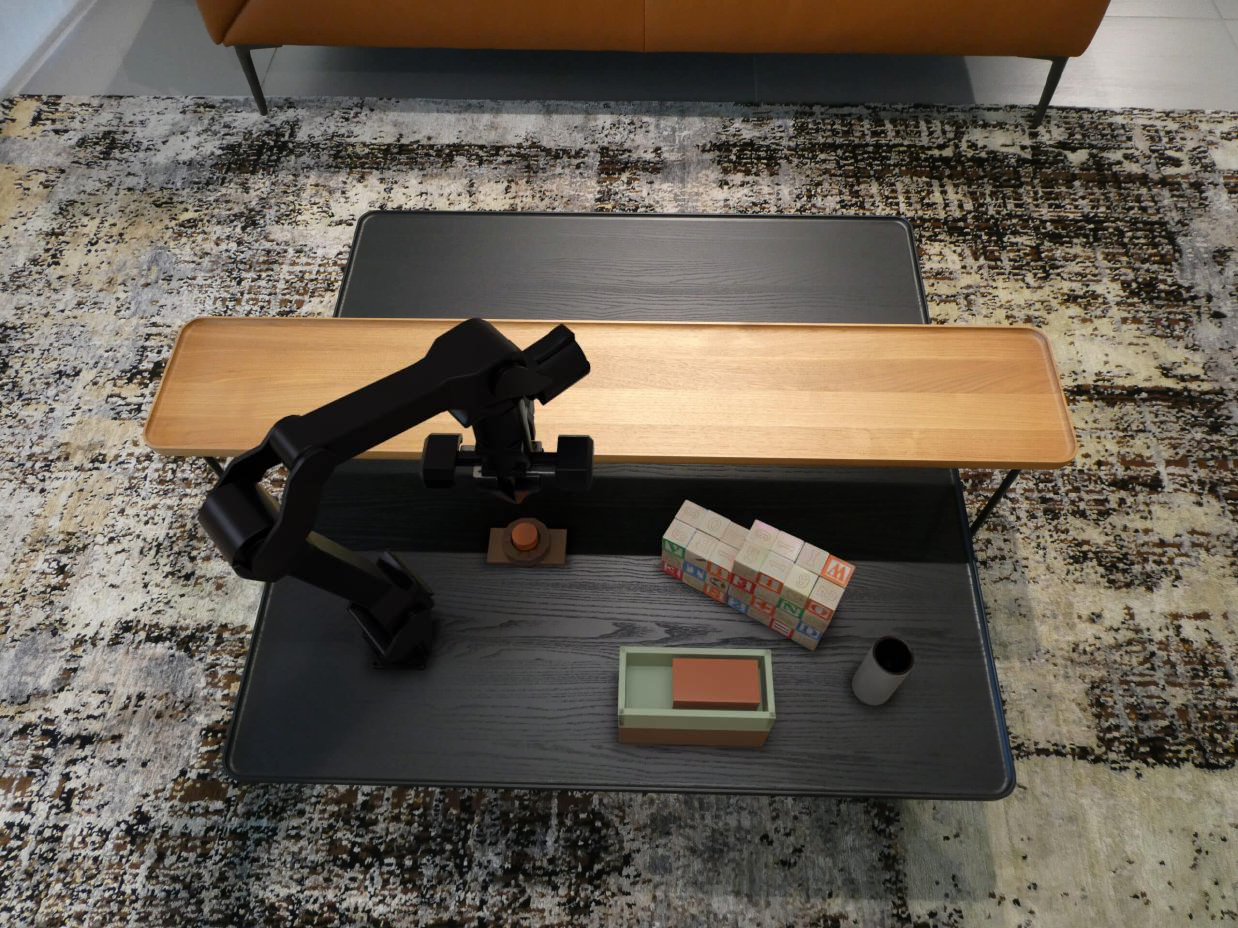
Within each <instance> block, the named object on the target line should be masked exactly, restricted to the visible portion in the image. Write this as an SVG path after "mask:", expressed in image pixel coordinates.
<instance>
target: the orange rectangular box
mask: <svg viewBox="0 0 1238 928" xmlns="http://www.w3.org/2000/svg"><path fill="white" fill-rule="evenodd" d="M759 704H760V689H759V673H758V660H737V659H692V658H673V660H672V669H671V709H679V710H720V711H757V709H758V707H759Z"/></svg>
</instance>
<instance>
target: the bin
mask: <svg viewBox="0 0 1238 928" xmlns="http://www.w3.org/2000/svg"><path fill="white" fill-rule="evenodd" d="M673 658H692V659H737V660H758V673H759V689H760V704H759V707H758V709H757V711H720V710H679V709H671V669H672V660H673ZM772 664H773V663H772V650H771V649H757V648H755V649H754V648H715V647H713V648H712V647H711V648H710V647H709V648H708V647H668V646H666V647H665V646H662V647H661V646H625V645H624V646H622V645H621V646H619V662H618V695H617V697H618V698H617V723H618V724H617V725H618V726H617V727H618V742H619V744H647V745H648V744H649V745H682V746H683V745H687V746H689V745H690V746H722V747H723V746H726V747H763V746H764V744H765V742H766V741H767V737H768V736H769V734H770V732H771V729H772V727H773V725H774V722H775V720H776V718H777V717H776V707H775V705H776V704H775V691H774V678H773V666H772Z"/></svg>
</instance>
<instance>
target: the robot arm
mask: <svg viewBox="0 0 1238 928" xmlns="http://www.w3.org/2000/svg"><path fill="white" fill-rule="evenodd" d="M591 368H592V366H591V362H590V361H589V360H588V358H587V356H586V354H585V352H584V350H583V348H582V347H581V345H580V344H579V343H578V342H577V340H576V333H575V332H574V331H572V330H571V329H570V328H569V327H567V326H566V325H565V324H564V323H559V324H558V325H556V326H555V327H554V328H552V329H551V330H550V331H549V332H548V333H547V334H546V335H544V336H542V337H540V338H539V339H537V340H536V341H535V342H533V343H532V344H530V345H529V346H527V347H526V348H524V349H521V348H520V347H519V346H517V345H516V344H515V343H514V342H513V341H512V340H511V339H508V337H507V336H505V335H504V334H503V333H502V332H501V331H500V330H498V328H496V327H495V326H494V325H493V324H491V322H489V321H487V320H486V319H483V318H481V317H471V318H468V319H466V320H463V321H462V322H460V323H458V324H456V325H455V326H454V327H452V328H450V329H449V330H447V331H445V332H443V333H442V334H441V335H438V336H437V337H436V338H435V339H434V340H433V342H432V344H431V345H430V347H429V349H428V350H427V351H426V354H425V355H424V357H422V358H420V359H419V360H417V361H416V362H414V363H412V364H410V365H408V366H406V367H403V368H401V369H400V370H397V371H395V372H393V373H391V374H388V375H386V376H384V377H382V378H380V379H378V380H375V381H374V382H371V383H369V384H367V385H365V386H363V387H360V388H359V389H356V390H353V391H352V392H350V393H348V394H345V395H343V396H341V397H339V398H337V399H335V400H332V401H330V402H328V403H326V404H324V405H321V406H320V407H317V408H315V409H313V410H310V411H309V412H306V413H304V414H302V415H301V414H290V415H286V416H283V417H281V418H280V419H279V420H277V421H275V423H274V424H273V425H272V426H271V427H270V428H269V430H268V432H267V433H266V435H265V436H264V438H263V439H262V441H261V442H260V443H259V444H258V445H256V446H255V447H252V448H251V449H248V450H247V451H245V452H244V453H241V454H240V455H238V456H236V457H234V458H232V459H231V460H230V461H229V463H228V464H227V465H226V467H225V469H224V470H223V472H222V473H221V474H220V476H219V477H218V479H217V480H216V482H215V483H214V485H213V487H212V488H211V490H210V491H209V493H207V496H206V499H205V500H204V501H203V502H202V504H201V506H200V508H199V511H198V516H197V519H196V520H197V522H198V523H199V525H200V526H201V528H202V529H203V531H204V532H205V534H206V535H207V536H208V538H209V539H210V540H211V542H212V543H213V545H214V546H215V547H216V548H217V550H218V551H219V552H220V554H221V555H222V557H223V558H224V560H225V561H226V562H227V564H228V565H229V566H230V568H231V570H232V571H233V572H234V573H235V574H236V576H238V577H239V578H241V579H244V580H247V581H253V582H261V583H269V584H275V583H277V582H278V581H280V580H282V579H283V578H286V577H291V578H294V579H296V580H298V581H301V582H303V583H305V584H308V585H310V586H313V587H315V588H317V589H320V590H322V591H325V592H328V593H329V594H332V595H334V596H336V597H339V598H342V599H345V600H346V601H348V602H347V605H346V606H345V609H346V611H347V613H348V614H349V615H350V616H351V618H352V619H353V620H354V621H355V622H356V624H357V625H358V627H360V629H361V630H362V632H361V637H362V638H363V640H364V641H365V642H366V644H367V645H368V647H369V648H370V649H371V651H372V652H373V653H372V657H371V665H370V666H371V667H372V668H373V669H375V670H409V671H410V670H413V671H417V670H418V671H422V670H425V669H426V668H427V662H428V656H429V654H430V653H431V652H432V648H433V647H432V646H433V641H434V635H435V633H434V630H433V625H434V621H433V619H432V612H431V611H432V609H433V608H435V606H436V602H435V600H434V599H433V596H434V595H435V594H436V593H435V592H434V591H433V590H432V588H430V586H429V585H428V584H427V582H426V581H425V580H424V579H423V578H422V577H421V575H419V574H418V572H417V571H416V570H415V568H414V567H412V565H411V564H410V563H409V562H408V560H407V559H406V558H405V557H404V556H403V555H402V554H394V553H392V552H391V551H390V549H389V548H386V550H385V551H384V552H383V553H382V554H381V555H378V556H377V557H376V558H375V559H374V560H370V559H368V558H366V557H364V556H362V555H360V554H358V553H356V552H354V551H352V550H351V549H349V548H346V547H345V546H343V545H341V544H339V543H337V542H335V541H334V540H331V539H329V538H327V537H325V536H323V535H322V534H320V533H318V532H315V531H314V528H315V526H316V522H317V518H318V512H319V508H320V504H321V498H322V493H323V489H324V486H325V484H326V483H327V482H328V481H329V479H330V477H331V476H332V474H333V473H334V472H335V469H336V467H338V466H340V465H342V464H343V463H346V462H348V461H350V460H351V459H354V458H355V457H358V456H360V455H361V454H364V453H365V452H368V451H369V450H371V449H373V448H375V447H378V446H379V445H381V444H383V443H385V442H387V441H389V440H391V439H393V438H395V437H397V436H399V435H401V434H403V433H405V432H407V431H408V430H411V429H413V428H415V427H417V426H419V425H420V424H422V423H424V422H426V421H428V420H430V419H432V418H434V417H437V416H438V415H440V414H442V413H445V412H447V413H449V415H450V416H452V417H453V418H454V419H455V421H457V423H459V425H461V426H462V428H464V429H470V428H471V430H472V433H473V436H474V440H475V444H463V441H464V437H463V433H462V432H430V433H429V434H427V436H426V437H425V438H424V441H423V446H422V451H421V457H420V463H419V466H418V467H419V468H418V473H419V479H420V481H421V484H422V485H423V486H424V487H425V488H426V489H440V490H441V489H443V490H444V489H445V490H446V489H448V490H450V489H452V488H453V487H456V485H457V478H456V472H457V467H468V468H469V467H471V468H472V467H473V471H472V477H473V478H474V479H475V481H474V482H475V483H474V488H475V490H476V491H477V492H479V493H486V494H489V495H492V496H494V497H498V498H500V499H503V500H504V501H507V502H508V503H511V504H514V505H519V504H521V503H522V502H523V500H524V499H525V498H526V497H527V496H529V495H531V494H532V493H534V494H537V493H539V492H540V491H541V490H542V485H543V484H542V483H543V475H554V481H555V482H554V483H555V487H556V488H558V489H560V490H562V491H568V492H569V491H571V492H573V491H574V492H575V491H577V492H579V491H580V492H581V491H582V492H587V491H589V490H590V489H591V488H593V482H594V481H593V480H594V465H595V464H594V463H595V439H593V438H592V436H591V435H590V434H558V435H557V442H556V451H545V449H544V447H543V442H542V441H541V440H536V436H537V429H536V423H535V414H536V413H535V412H536V410H535V401H538V402H539V403H540V405H541V406H546V405H547V404H548V403H550V402H552V401H553V400H554V399H556V398H557V397H558V396H560V395H562V394H563V393H564V392H566V391H567V390H568V389H570V388H571V387H573V386H574V385H575V384H577V383H578V382H580V381H582V379H584V378H586V377H587V376H588V375H590V373H591ZM280 464H282V465H283V466H284V468H285V469H286V470H287V472H288V473H289V474H288V475H287V477H286V479H285V482H284V487H283V492H282V495H281V496H282V497H281V501H280V502H279V501H277V499H276V498H275V496H273V495H272V494H271V493H270V492H269V491H268V490H267V489H266V488H265V487H264V486H263V485H262V484H261V483H260V482H261V480H262V479H263V478H264V476H265V474H266V473H267V472H268V471H269V470H270V469H273V468H274V467H277V466H278V465H280ZM514 478H515V479H514ZM375 664H376V665H375ZM421 665H422V666H421Z"/></svg>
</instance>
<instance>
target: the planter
mask: <svg viewBox="0 0 1238 928" xmlns="http://www.w3.org/2000/svg"><path fill="white" fill-rule="evenodd" d="M915 655H916V654H915V651H914V649H913V647H912V646H911V645H910V644H909V643H908V641H906V639H904V638H902V637H899V636H898V635H897V636H896V635H892V634H891V635H884V636H881V637H879V638H878V639H877V640H876V641H874V643H873V645H872V647H871V648H870V649H869V651H868V653H867V654H866V656H865V657H864V659H863V660H862V662H861V663H860V665H859V666H858V669H857V670H856V671H855V673H854V675H853V677H852V679H851V687H852V688H851V689H852V691H853V693H854V695H855V697H856V698H857V699H858V700H859V701H860V702H861V703H864V704H866V705H868V706H876V707H877V706H880V705H883V704H885V703H886V702H887V701H888V700H889V699H890V697H891V696H892V695H893V694H894V693H895V692H896V690H897V689H898V688H899V686H900V685H901V684H902V683H903V681H904V680H905V679H906V677H907V676H908V675H909V673H910V672H911V671H912V670H913V668H914V666H915V663H916V656H915Z"/></svg>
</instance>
